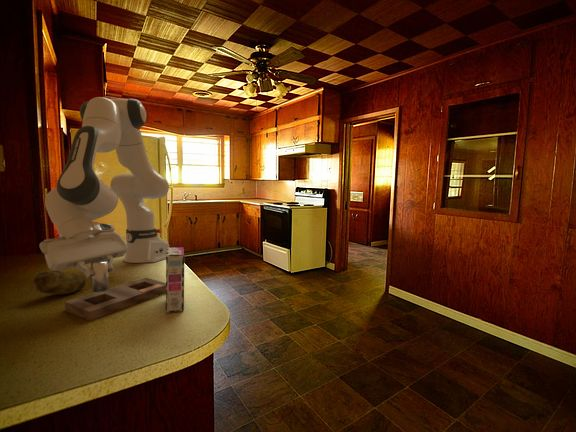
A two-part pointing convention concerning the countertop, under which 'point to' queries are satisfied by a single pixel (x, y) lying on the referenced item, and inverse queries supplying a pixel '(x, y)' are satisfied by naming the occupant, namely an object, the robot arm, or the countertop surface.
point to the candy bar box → (175, 279)
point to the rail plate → (114, 298)
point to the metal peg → (100, 276)
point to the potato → (58, 282)
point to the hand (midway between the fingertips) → (101, 273)
